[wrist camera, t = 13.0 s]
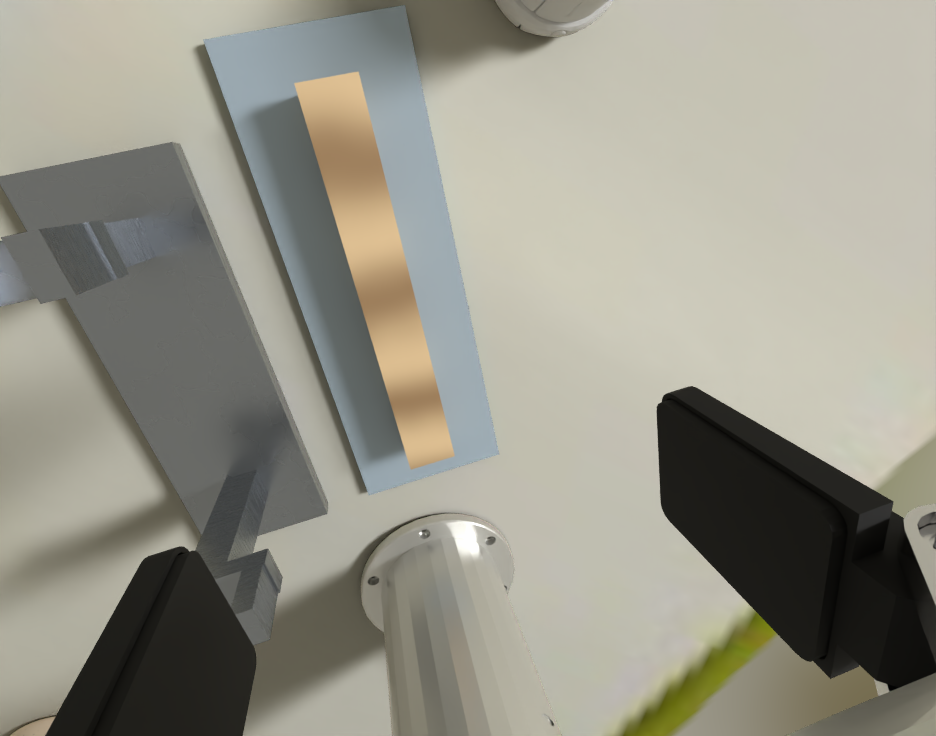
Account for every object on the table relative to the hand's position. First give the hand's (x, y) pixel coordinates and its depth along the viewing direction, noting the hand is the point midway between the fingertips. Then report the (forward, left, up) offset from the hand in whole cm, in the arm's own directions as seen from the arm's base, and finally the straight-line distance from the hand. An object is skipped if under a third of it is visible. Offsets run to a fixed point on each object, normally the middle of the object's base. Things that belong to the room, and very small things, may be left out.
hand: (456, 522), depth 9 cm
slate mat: (0, 0, -22) cm, 22 cm away
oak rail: (0, 0, -20) cm, 20 cm away
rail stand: (-2, +12, -22) cm, 25 cm away
